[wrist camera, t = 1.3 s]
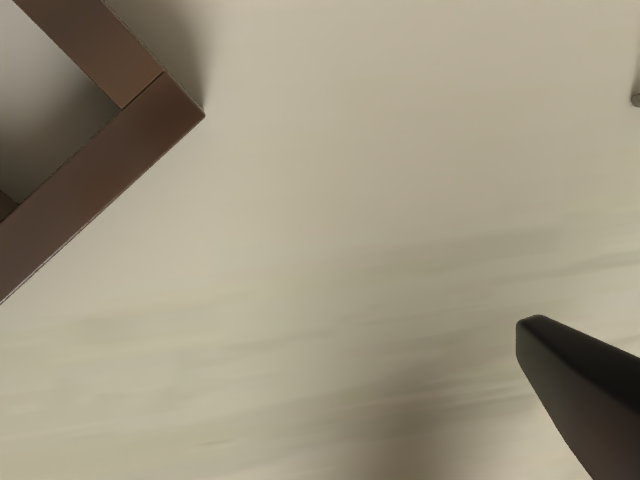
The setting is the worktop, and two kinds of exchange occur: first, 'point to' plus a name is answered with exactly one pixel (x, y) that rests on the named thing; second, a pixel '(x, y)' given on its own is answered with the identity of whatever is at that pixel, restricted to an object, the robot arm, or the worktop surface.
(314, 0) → the worktop surface
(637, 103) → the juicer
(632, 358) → the robot arm
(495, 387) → the worktop surface
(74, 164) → the rack
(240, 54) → the worktop surface
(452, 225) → the worktop surface
